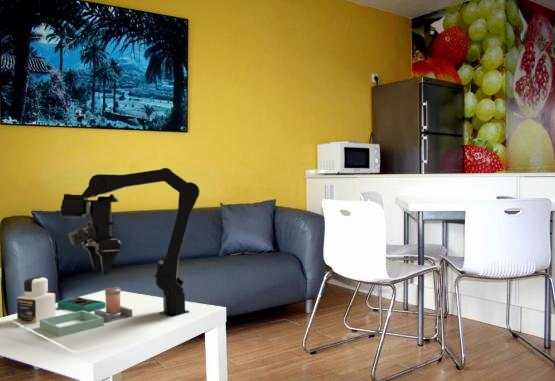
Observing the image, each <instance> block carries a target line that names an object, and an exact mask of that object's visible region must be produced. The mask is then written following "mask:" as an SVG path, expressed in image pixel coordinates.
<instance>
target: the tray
mask: <svg viewBox="0 0 555 381" xmlns="http://www.w3.org/2000/svg"><path fill="white" fill-rule="evenodd" d="M78 320H85V321H82V322H76V323H73V324H68V325H64V326H58V325H60V324H64V323H65V324H66V323H69V322H74V321H78ZM104 326H105V321H104V318H103V317H100V316H97V315H95V314H94V313H92V312H86V311H84V310H83V311H73V312H69V313H65V314H64V313H63V314H59V315H56V316H54V317H50V318H45V319H40V322H39V328H40V329H43V330H44V331H46V332H48V333H51V335H52V334H53V335H54V336H57V337H59V338H60V337H64V336H68V335H72V334H75V333H79V332H80V333H81V332H84V331H88V330H92V329H97V328H100V327H104Z"/></svg>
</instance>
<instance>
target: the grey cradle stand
mask: <svg viewBox="0 0 555 381" xmlns="http://www.w3.org/2000/svg"><path fill="white" fill-rule="evenodd" d="M120 307H121V317H119V318H115V319H112V316H111V314H109V313H106V311H103V310H102V309H100V310H94V311H93V312H94V313H93V314H95V315H97V316H100V317H103V318H104V322H106V323H112V322H115V321H120V320H124V319H129V318H132V317H133V309H132V308H129V307H125V306H122V305H120Z"/></svg>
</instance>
